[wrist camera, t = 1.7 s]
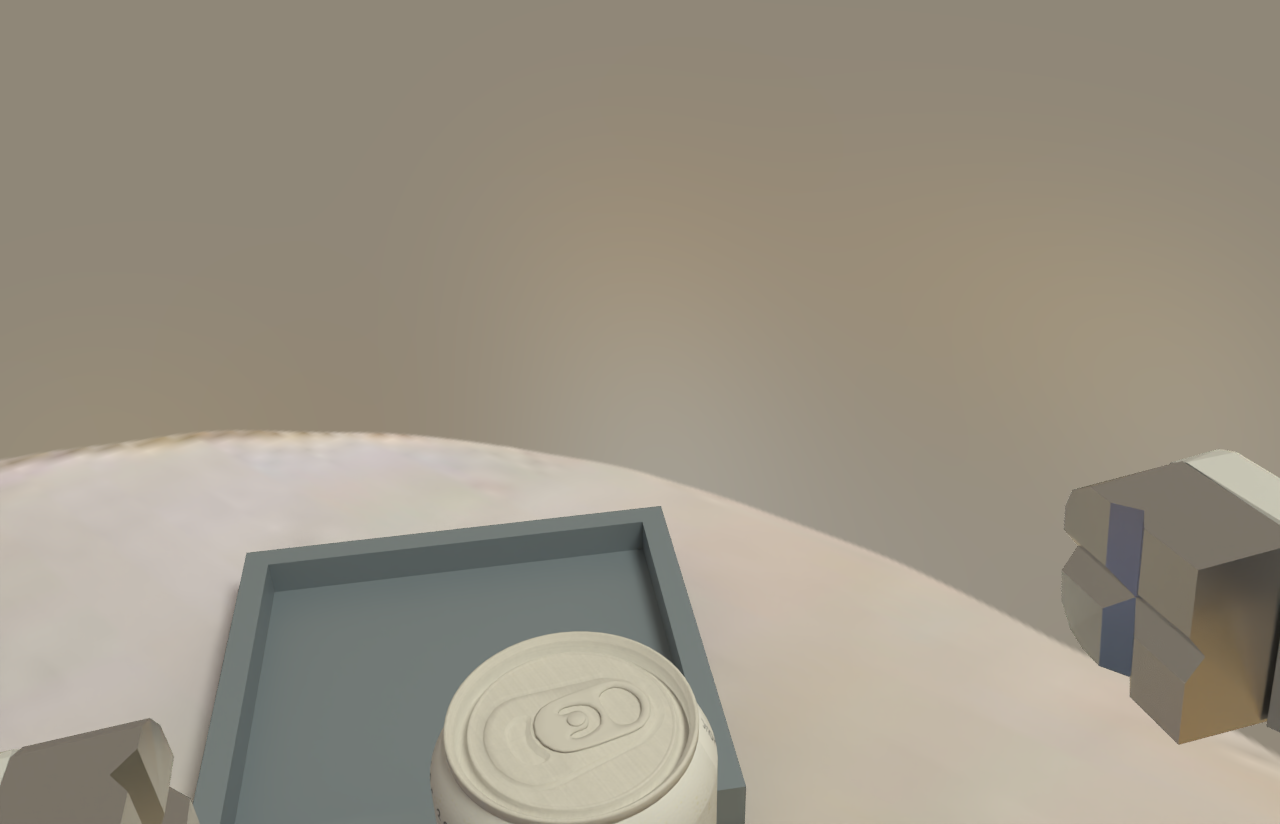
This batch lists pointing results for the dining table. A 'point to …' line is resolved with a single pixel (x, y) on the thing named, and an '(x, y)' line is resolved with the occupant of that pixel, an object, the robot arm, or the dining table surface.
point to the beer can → (575, 738)
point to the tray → (421, 657)
